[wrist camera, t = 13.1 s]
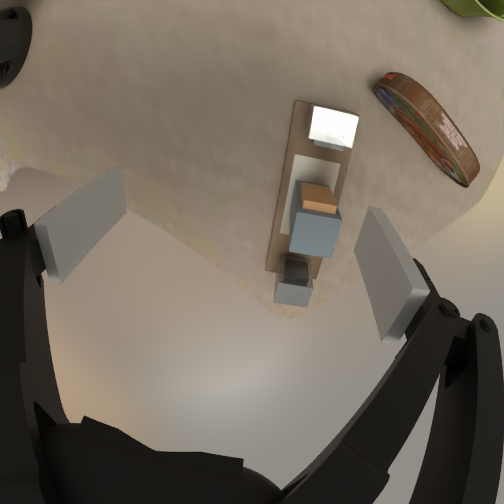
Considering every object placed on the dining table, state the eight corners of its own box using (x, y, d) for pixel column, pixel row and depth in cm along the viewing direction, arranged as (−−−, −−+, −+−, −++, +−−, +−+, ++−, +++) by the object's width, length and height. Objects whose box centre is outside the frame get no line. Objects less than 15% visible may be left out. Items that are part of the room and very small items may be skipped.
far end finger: (276, 272, 39) (273, 302, 34) (281, 250, 37) (279, 278, 32) (305, 277, 39) (306, 307, 34) (311, 255, 37) (314, 284, 32)
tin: (363, 86, 27) (387, 87, 20) (380, 68, 25) (408, 64, 18) (442, 175, 30) (475, 201, 23) (457, 160, 29) (493, 182, 22)
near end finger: (304, 134, 29) (307, 144, 24) (309, 103, 28) (314, 106, 22) (339, 142, 29) (350, 154, 24) (346, 111, 27) (358, 116, 22)
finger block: (289, 211, 34) (288, 251, 27) (296, 173, 32) (298, 203, 24) (322, 217, 34) (330, 258, 27) (331, 179, 32) (344, 211, 24)
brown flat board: (265, 265, 40) (265, 271, 39) (295, 100, 29) (295, 100, 27) (315, 274, 40) (315, 279, 39) (356, 113, 28) (359, 115, 27)
